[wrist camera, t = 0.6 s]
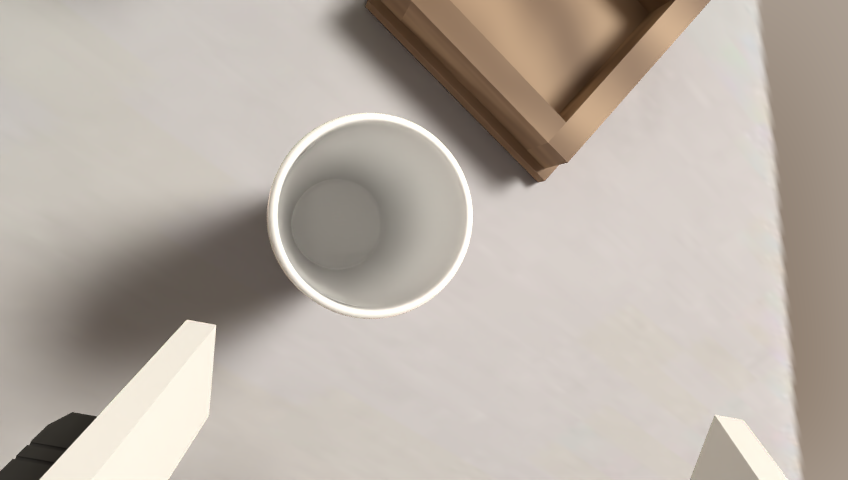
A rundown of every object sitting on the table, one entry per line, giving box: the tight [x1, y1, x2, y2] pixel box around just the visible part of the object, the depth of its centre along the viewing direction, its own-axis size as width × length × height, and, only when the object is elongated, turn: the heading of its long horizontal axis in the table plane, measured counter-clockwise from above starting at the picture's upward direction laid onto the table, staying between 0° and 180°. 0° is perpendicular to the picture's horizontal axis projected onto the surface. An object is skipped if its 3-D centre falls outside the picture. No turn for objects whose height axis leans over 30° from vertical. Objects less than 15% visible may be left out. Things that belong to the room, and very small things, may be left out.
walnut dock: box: [365, 0, 710, 182], centre depth 35 cm, size 14×14×4 cm
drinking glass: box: [267, 113, 473, 319], centre depth 27 cm, size 7×7×15 cm
